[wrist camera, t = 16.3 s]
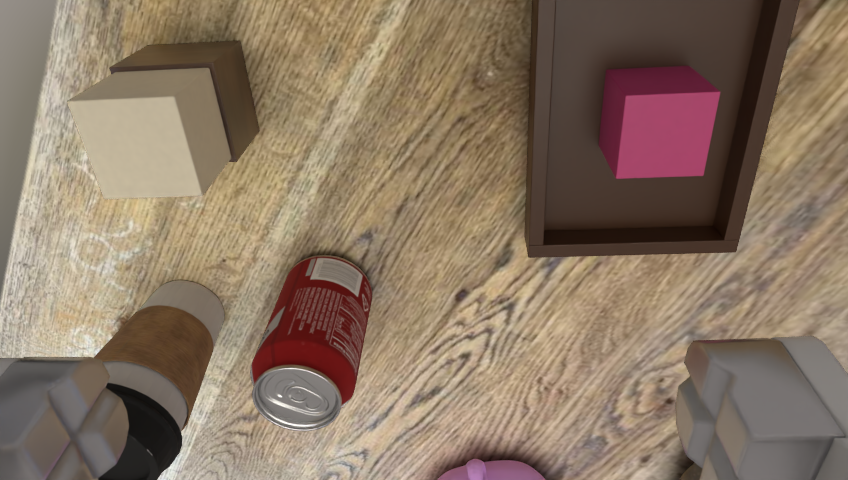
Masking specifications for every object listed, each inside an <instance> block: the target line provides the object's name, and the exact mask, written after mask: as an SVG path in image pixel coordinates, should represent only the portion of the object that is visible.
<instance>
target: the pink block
mask: <svg viewBox="0 0 848 480" xmlns="http://www.w3.org/2000/svg"><path fill="white" fill-rule="evenodd" d="M719 97H720V91H719V90H718V89H717V88H715V87H714V86H713V85H712V84H711V83H709V82H708V81H707V80H706V79H705V78H704V77H702V76H701V75H700V74H699V73H698V72H696V71H695V70H694V69H693V68H692V67H690V66H674V67H652V68H630V69H608V70H606V75H605V85H604V95H603V105H602V115H601V125H600V135H599V147H600V149H601V151H602V153H603V155H604V157H605V159H606V161H607V162H608V164H609V166H610V168H611V170H612V172H613V174H614V176H615V178H616V179H623V178H653V177H683V176H703V175H704V171H705V166H706V161H707V156H708V151H709V146H710V141H711V136H712V131H713V126H714V121H715V116H716V111H717V107H718V102H719Z"/></svg>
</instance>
